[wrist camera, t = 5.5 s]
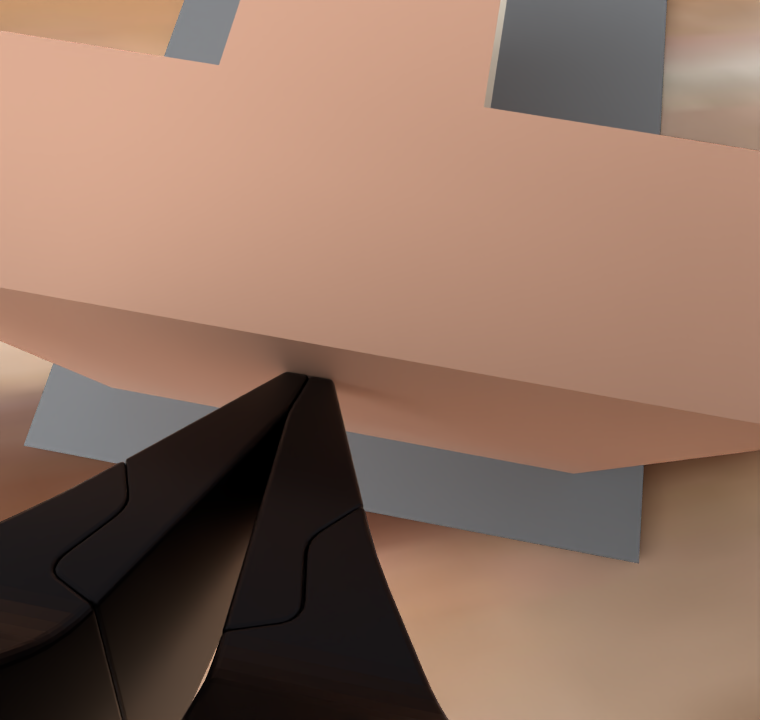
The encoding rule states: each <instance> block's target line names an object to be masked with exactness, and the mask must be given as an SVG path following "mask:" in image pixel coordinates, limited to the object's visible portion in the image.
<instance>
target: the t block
mask: <svg viewBox="0 0 760 720" xmlns="http://www.w3.org/2000/svg"><path fill="white" fill-rule="evenodd" d="M500 1H501V0H240V2H239V5H238V8H237V12H236V15H235V18H234V21H233V24H232V27H231V30H230V33H229V36H228V39H227V42H226V45H225V48H224V51H223V54H222V57H221V60H220V64H219V65H215V64H208V63H202V62H196V61H189V60H183V59H177V58H170V57H164V56H158V55H152V54H145V53H139V52H133V51H126V50H120V49H114V48H107V47H101V46H95V45H88V44H82V43H76V42H69V41H63V40H57V39H50V38H44V37H38V36H31V35H25V34H19V33H12V32H6V31H0V341H2V342H4V343H7V344H9V345H11V346H14V347H16V348H19V349H21V350H23V351H26V352H28V353H30V354H33V355H35V356H38V357H40V358H42V359H45V360H47V361H50V362H52V363H54V364H57V365H59V366H61V367H64V368H66V369H69V370H71V371H73V372H76V373H78V374H80V375H83V376H85V377H88V378H90V379H92V380H95V381H97V382H100V383H102V384H104V385H107V386H109V387H111V388H116V389H122V390H127V391H132V392H138V393H143V394H148V395H154V396H159V397H165V398H170V399H175V400H181V401H186V402H191V403H197V404H202V405H208V406H213V407H218V408H220V407H222V406H224V405H226V404H227V403H229V402H231V401H233V400H235V399H237V398H238V397H240V396H242V395H244V394H246V393H248V392H249V391H251V390H253V389H255V388H257V387H258V386H260V385H262V384H264V383H266V382H268V381H269V380H271V379H273V378H275V377H277V376H279V375H280V374H282V373H284V372H292V373H297V374H303V375H307V376H308V378H310V377H319V378H325V379H330V380H332V381H333V382H334V384H335V388H336V392H337V397H338V401H339V405H340V409H341V413H342V418H343V422H344V426H345V430H346V431H347V432H352V433H358V434H363V435H369V436H374V437H379V438H385V439H390V440H395V441H401V442H406V443H412V444H417V445H422V446H428V447H433V448H438V449H444V450H449V451H454V452H460V453H465V454H471V455H476V456H481V457H487V458H492V459H497V460H503V461H508V462H514V463H519V464H524V465H530V466H535V467H540V468H546V469H551V470H557V471H562V472H567V473H573V474H575V473H583V472H591V471H599V470H607V469H615V468H623V467H631V466H639V465H647V464H655V463H662V462H670V461H678V460H686V459H694V458H702V457H710V456H718V455H726V454H734V453H742V452H750V451H757V450H760V151H758V150H752V149H746V148H739V147H733V146H727V145H720V144H714V143H708V142H701V141H695V140H689V139H682V138H676V137H670V136H663V135H657V134H651V133H644V132H638V131H632V130H625V129H619V128H613V127H607V126H600V125H594V124H588V123H581V122H575V121H569V120H562V119H556V118H550V117H543V116H537V115H531V114H524V113H518V112H512V111H505V110H499V109H493V108H486V107H484V102H485V96H486V90H487V83H488V77H489V70H490V64H491V58H492V51H493V45H494V39H495V32H496V26H497V20H498V13H499V7H500Z"/></svg>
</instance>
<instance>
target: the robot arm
mask: <svg viewBox="0 0 760 720" xmlns="http://www.w3.org/2000/svg"><path fill="white" fill-rule="evenodd" d="M363 507H364V506H363V502H362V497H361V493H360V489H359V485H358V481H357V476H356V472H355V468H354V464H353V460H352V455H351V451H350V447H349V443H348V439H347V434H346V430H345V426H344V422H343V418H342V413H341V409H340V405H339V401H338V397H337V392H336V388H335V384H334V382H333V381H332V380H330V379H325V378H319V377H310V378H308V376H307V375H303V374H297V373H292V372H284V373H282V374H280V375H279V376H277V377H275V378H273V379H271V380H269V381H268V382H266V383H264V384H262V385H260V386H258V387H257V388H255V389H253V390H251V391H249V392H248V393H246V394H244V395H242V396H240V397H238V398H237V399H235V400H233V401H231V402H229V403H227V404H226V405H224V406H222V407H220V408H218V409H217V410H215V411H213V412H211V413H209V414H207V415H206V416H204V417H202V418H200V419H198V420H196V421H195V422H193V423H191V424H189V425H187V426H186V427H184V428H182V429H180V430H178V431H176V432H175V433H173V434H171V435H169V436H167V437H165V438H164V439H162V440H160V441H158V442H156V443H155V444H153V445H151V446H149V447H147V448H145V449H144V450H142V451H140V452H138V453H136V454H134V455H133V456H131V457H129V458H127V459H126V461H125V463H124V462H120V463H118V464H116V465H114V466H112V467H110V468H109V469H107V470H105V471H103V472H101V473H99V474H98V475H96V476H94V477H92V478H90V479H88V480H86V481H84V482H82V483H80V484H78V485H76V486H75V487H73V488H71V489H69V490H67V491H65V492H63V493H61V494H59V495H57V496H55V497H53V498H50V499H48V500H46V501H44V502H42V503H40V504H38V505H36V506H33V507H31V508H29V509H27V510H25V511H23V512H21V513H19V514H17V515H14V516H12V517H10V518H8V519H5V520H3V521H1V522H0V720H448V718H447V717H446V715H445V714H444V712H443V710H442V708H441V707H440V705H439V703H438V701H437V699H436V697H435V695H434V693H433V691H432V689H431V687H430V685H429V682H428V680H427V678H426V676H425V673H424V671H423V669H422V666H421V664H420V661H419V659H418V657H417V654H416V652H415V649H414V647H413V645H412V642H411V640H410V637H409V635H408V633H407V630H406V628H405V625H404V623H403V621H402V618H401V616H400V613H399V611H398V609H397V606H396V604H395V601H394V599H393V597H392V594H391V592H390V589H389V587H388V584H387V581H386V579H385V576H384V573H383V571H382V568H381V565H380V562H379V560H378V557H377V554H376V550H375V547H374V543H373V540H372V536H371V533H370V529H369V525H368V521H367V517H366V513H365V510H364V509H363ZM218 643H219V644H218ZM217 645H218V647H217ZM216 648H217V650H216ZM215 650H216V653H215V656H214V659H213V662H212V664H211V667H210V669H209V672H208V674H207V677H206V679H205V681H204V683H203V685H202V686H201V688H200V690H199V692H198V693H197V695H196V697H195V698H194V696H195V694H196V692H197V690H198V688H199V685H200V683H201V681H202V679H203V676H204V674H205V672H206V670H207V668H208V665H209V663H210V661H211V659H212V656H213V654H214V652H215ZM193 699H194V700H193ZM192 701H193V702H192Z"/></svg>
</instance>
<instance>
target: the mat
mask: <svg viewBox="0 0 760 720" xmlns="http://www.w3.org/2000/svg"><path fill="white" fill-rule="evenodd" d="M239 2H240V0H184V3H183V6H182V8H181V11H180V14H179V17H178V19H177V22H176V25H175V28H174V31H173V33H172V36H171V39H170V42H169V44H168V47H167V50H166V53H165V55H164V57H170V58H177V59H183V60H189V61H196V62H202V63H208V64H215V65H219V64H220V60H221V57H222V54H223V51H224V48H225V45H226V42H227V39H228V36H229V33H230V30H231V27H232V24H233V21H234V18H235V15H236V12H237V8H238V5H239ZM666 8H667V0H501V1H500V7H499V13H498V20H497V26H496V32H495V39H494V45H493V51H492V58H491V64H490V70H489V77H488V83H487V90H486V96H485V102H484V107H486V108H493V109H499V110H505V111H512V112H518V113H524V114H531V115H537V116H543V117H550V118H556V119H562V120H569V121H575V122H581V123H588V124H594V125H600V126H607V127H613V128H619V129H625V130H632V131H638V132H644V133H651V134H657V135H660V129H661V109H662V89H663V68H664V48H665V28H666ZM217 409H218V407H213V406H208V405H202V404H197V403H191V402H186V401H181V400H175V399H170V398H165V397H159V396H154V395H148V394H143V393H138V392H132V391H127V390H122V389H116V388H111V387H109V386H107V385H104V384H102V383H100V382H97V381H95V380H92V379H90V378H88V377H85V376H83V375H80V374H78V373H76V372H73V371H71V370H69V369H66V368H64V367H61V366H59V365H57V364H54V363H53V366H52V369H51V372H50V374H49V377H48V380H47V383H46V385H45V388H44V391H43V394H42V397H41V399H40V402H39V405H38V408H37V410H36V413H35V416H34V419H33V421H32V424H31V427H30V430H29V433H28V435H27V438H26V441H25V444H24V446H29V447H34V448H39V449H45V450H50V451H55V452H60V453H65V454H71V455H76V456H81V457H86V458H92V459H97V460H102V461H107V462H112V463H120V462H124V463H125V461H126V459H127V458H129V457H131V456H133V455H134V454H136V453H138V452H140V451H142V450H144V449H145V448H147V447H149V446H151V445H153V444H155V443H156V442H158V441H160V440H162V439H164V438H165V437H167V436H169V435H171V434H173V433H175V432H176V431H178V430H180V429H182V428H184V427H186V426H187V425H189V424H191V423H193V422H195V421H196V420H198V419H200V418H202V417H204V416H206V415H207V414H209V413H211V412H213V411H215V410H217ZM346 434H347V439H348V443H349V447H350V451H351V455H352V460H353V464H354V468H355V472H356V476H357V481H358V485H359V489H360V493H361V497H362V502H363V506H364V507H363V509H364V510H365V511H368V512H373V513H378V514H384V515H389V516H394V517H399V518H405V519H410V520H415V521H420V522H425V523H431V524H436V525H441V526H446V527H451V528H457V529H462V530H467V531H472V532H478V533H483V534H488V535H493V536H498V537H504V538H509V539H514V540H519V541H524V542H530V543H535V544H540V545H545V546H551V547H556V548H561V549H566V550H571V551H577V552H582V553H587V554H592V555H597V556H603V557H608V558H613V559H618V560H624V561H629V562H634V563H639V551H640V531H641V511H642V490H643V470H644V465H639V466H631V467H623V468H615V469H607V470H599V471H591V472H583V473H575V474H573V473H567V472H562V471H557V470H551V469H546V468H540V467H535V466H530V465H524V464H519V463H514V462H508V461H503V460H497V459H492V458H487V457H481V456H476V455H471V454H465V453H460V452H454V451H449V450H444V449H438V448H433V447H428V446H422V445H417V444H412V443H406V442H401V441H395V440H390V439H385V438H379V437H374V436H369V435H363V434H358V433H352V432H347V431H346Z"/></svg>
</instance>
